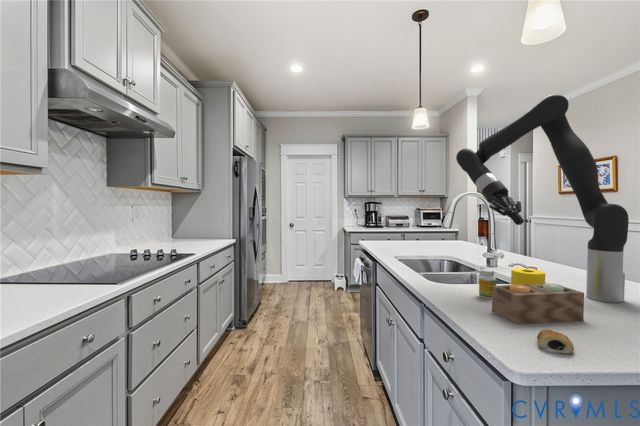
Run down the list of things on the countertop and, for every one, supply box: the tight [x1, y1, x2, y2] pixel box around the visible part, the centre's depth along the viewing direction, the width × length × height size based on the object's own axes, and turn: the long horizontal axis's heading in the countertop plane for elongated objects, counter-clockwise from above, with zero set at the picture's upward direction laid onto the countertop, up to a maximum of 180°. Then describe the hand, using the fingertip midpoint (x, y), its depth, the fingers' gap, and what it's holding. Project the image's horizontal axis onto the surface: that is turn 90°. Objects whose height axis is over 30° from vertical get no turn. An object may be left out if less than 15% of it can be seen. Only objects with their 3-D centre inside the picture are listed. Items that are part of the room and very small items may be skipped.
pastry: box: [536, 329, 575, 355], centre depth 73 cm, size 9×7×4 cm
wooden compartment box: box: [491, 284, 585, 325], centre depth 92 cm, size 21×10×8 cm, turn 97°
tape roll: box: [510, 267, 546, 285], centre depth 111 cm, size 10×10×9 cm
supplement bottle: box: [478, 268, 497, 300], centre depth 111 cm, size 5×5×10 cm
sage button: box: [543, 282, 565, 292], centre depth 93 cm, size 5×5×3 cm
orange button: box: [509, 284, 530, 293], centre depth 91 cm, size 5×5×3 cm
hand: (520, 223), depth 104 cm, fingers closed
